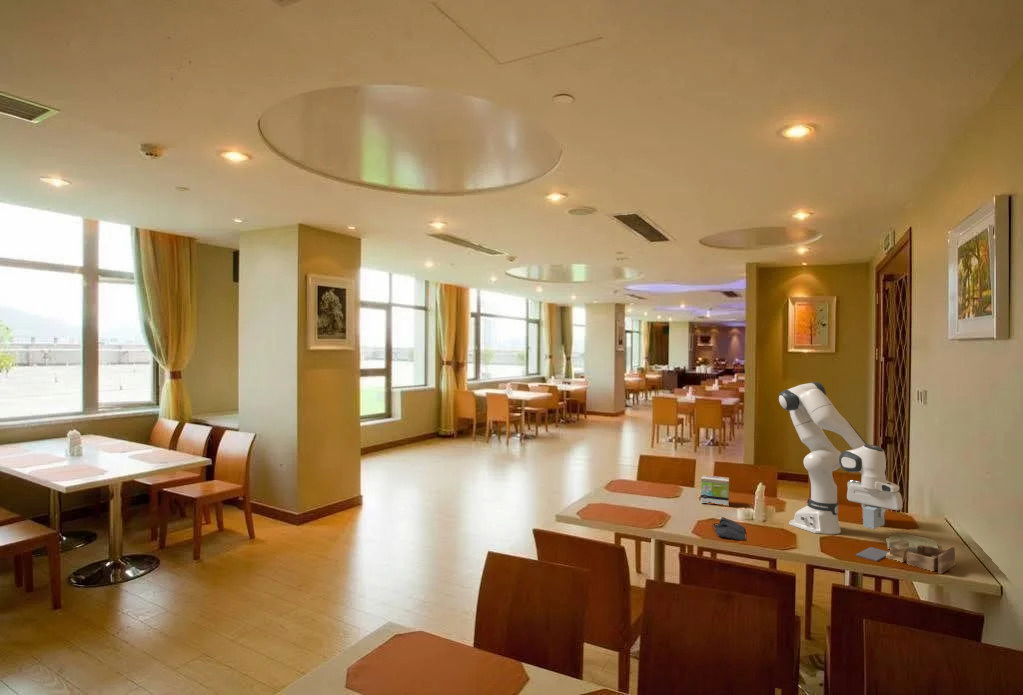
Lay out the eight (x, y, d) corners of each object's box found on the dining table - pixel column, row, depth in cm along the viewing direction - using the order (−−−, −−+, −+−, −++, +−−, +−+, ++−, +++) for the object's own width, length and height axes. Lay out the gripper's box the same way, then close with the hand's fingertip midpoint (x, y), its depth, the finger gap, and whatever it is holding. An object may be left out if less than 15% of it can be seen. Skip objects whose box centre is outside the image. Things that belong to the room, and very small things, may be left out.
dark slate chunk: (712, 539, 254) (712, 528, 254) (711, 524, 275) (711, 515, 275) (748, 543, 249) (748, 532, 249) (744, 528, 270) (744, 518, 270)
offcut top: (889, 546, 232) (889, 540, 232) (899, 545, 234) (899, 539, 234) (898, 549, 228) (898, 543, 228) (908, 548, 230) (908, 542, 230)
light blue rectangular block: (863, 526, 232) (863, 507, 233) (874, 522, 239) (873, 503, 239) (873, 529, 229) (873, 510, 229) (884, 524, 236) (884, 505, 236)
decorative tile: (935, 546, 246) (935, 538, 246) (940, 560, 230) (940, 551, 230) (885, 537, 257) (885, 530, 257) (886, 550, 240) (886, 542, 240)
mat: (855, 555, 233) (855, 554, 233) (870, 548, 242) (870, 546, 242) (876, 561, 226) (876, 560, 226) (891, 553, 235) (891, 552, 235)
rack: (906, 564, 223) (906, 547, 223) (921, 556, 233) (921, 539, 233) (941, 574, 214) (941, 556, 214) (954, 564, 223) (954, 547, 223)
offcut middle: (889, 554, 230) (889, 548, 230) (894, 549, 235) (894, 543, 235) (903, 557, 226) (903, 551, 226) (908, 552, 232) (908, 546, 232)
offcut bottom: (886, 559, 230) (886, 553, 230) (894, 554, 236) (894, 548, 236) (902, 564, 225) (902, 558, 225) (911, 558, 232) (911, 552, 232)
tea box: (700, 504, 310) (700, 478, 310) (701, 499, 320) (701, 474, 320) (728, 507, 305) (729, 480, 305) (729, 502, 314) (729, 476, 314)
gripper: (844, 480, 241) (844, 511, 241) (897, 489, 224) (898, 523, 224) (850, 478, 245) (850, 509, 244) (903, 487, 228) (904, 520, 228)
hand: (873, 515), depth 234 cm, fingers closed on light blue rectangular block, 4 cm apart
